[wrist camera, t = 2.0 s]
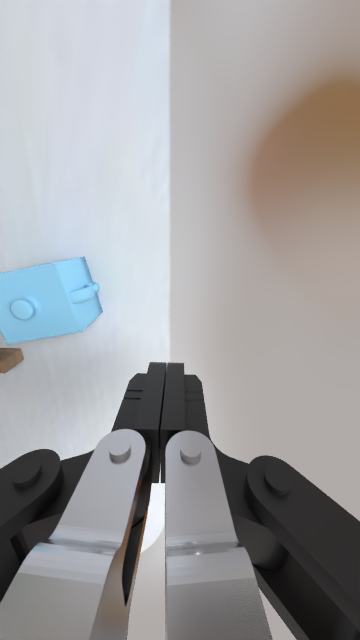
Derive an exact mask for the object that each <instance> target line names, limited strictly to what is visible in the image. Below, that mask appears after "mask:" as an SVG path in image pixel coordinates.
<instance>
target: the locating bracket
mask: <svg viewBox="0 0 360 640" xmlns="http://www.w3.org/2000/svg"><path fill="white" fill-rule="evenodd" d="M22 360H23V355H22V351H21V349H14V348H0V373H6V372H8V371H9V370H10V369H11V368H13V367H14V366H15V365H17V364H18V363H19V362H21V361H22Z"/></svg>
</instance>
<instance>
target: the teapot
mask: <svg viewBox="0 0 360 640" xmlns="http://www.w3.org/2000/svg"><path fill="white" fill-rule="evenodd" d="M97 291H99V285H98V284H97V283H95V282H93V281H92V278H91V275H90V272H89V269H88V266H87V263H86V260H85V257H80V258H75V259H70V260H65V261H60V262H54V263H49V264H44V265H39V266H34V267H29V268H24V269H19V270H14V271H9V272H4V273H0V332H1V333H2V335H3V337H4V339H5V341H6V343H7V344H13V343H19V342H25V341H31V340H37V339H42V338H48V337H54V336H59V335H65V334H71V333H76V332H82V331H83V330H84V329H85V328H86V327H87V326H88V325H90V324H91V323H92V322H93V321H94V320H95V319H96V318H97V317H98V316H99V315H100V314H101V313H102V312H103V311H102V308H101V305H100V302H99V299H98V296H97V293H96V292H97Z"/></svg>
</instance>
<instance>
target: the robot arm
mask: <svg viewBox="0 0 360 640" xmlns="http://www.w3.org/2000/svg"><path fill="white" fill-rule="evenodd" d="M160 463H161V483H165V633H166V635H165V640H273V639H272V635H271V632H270V628H269V624H268V621H267V617H266V613H265V610H264V606H263V602H262V599H261V595H260V592H259V588H260V590H261V591H262V593H263V594H264V595H265V597H266V598H267V599H268V601H269V602H270V604H271V605H272V606H273V608H274V609H275V610H276V612H277V613H278V615H279V616H280V617H281V619H282V620H283V621H284V623H285V624H286V625H287V627H288V628H289V630H290V631H291V632H292V634H293V635H294V637H295V638H296V639H297V640H360V521H358V520H357V519H356V518H355V517H354V516H352V515H351V514H350V513H348V512H347V511H346V510H345V509H344V508H342V507H341V506H340V505H339V504H337V503H336V502H335V501H334V500H332V499H331V498H330V497H329V496H327V495H326V494H325V493H324V492H322V491H321V490H320V489H319V488H318V487H316V486H315V485H314V484H312V483H311V482H310V481H309V480H307V479H306V478H305V477H304V476H303V475H301V474H300V473H299V472H298V471H296V470H295V469H294V468H293V467H291V466H290V465H289V464H287V463H286V462H284V461H283V460H281V459H278V458H276V457H272V456H259V457H256V458H255V459H253V460H252V461H251V462H250V464H248V463H245V462H242V461H239V460H236V459H234V458H231V457H228V456H227V455H225V454H223V453H222V452H221V451H219V450H218V449H217V448H216V446H215V445H214V444H213V442H212V441H211V438H210V436H209V430H208V423H207V416H206V410H205V403H204V396H203V389H202V382H201V381H200V380H199V379H198V377H197V376H196V375H184V363H168V364H167V363H162V362H150V364H149V368H148V372H147V374H142V373H137V374H136V375H135V376H134V377H133V378H132V379H131V380H130V381H129V384H128V387H127V389H126V392H125V395H124V399H123V401H122V403H121V406H120V409H119V412H118V414H117V417H116V420H115V423H114V425H113V428H112V431H111V433H109V434H108V435H106V436H105V437H104V438H103V439H102V440H101V441H100V442H99V443H98V445H97V446H96V448H95V449H94V450H93V451H91V452H88V453H86V454H83V455H79V456H76V457H72V458H69V459H65V460H61V461H60V458H59V456H58V454H57V453H56V452H54V451H52V450H49V449H39V450H34V451H31V452H29V453H26V454H24V455H22V456H21V457H19V458H17V459H16V460H14V461H12V462H11V463H9V464H8V465H6V466H4V467H3V468H1V469H0V640H127V634H128V622H129V613H130V607H131V601H132V595H133V589H134V584H135V579H136V573H137V568H138V562H139V557H140V552H141V546H142V541H143V535H144V530H145V524H146V519H147V513H148V506H149V501H150V492H151V484H152V483H159V474H160Z"/></svg>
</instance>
